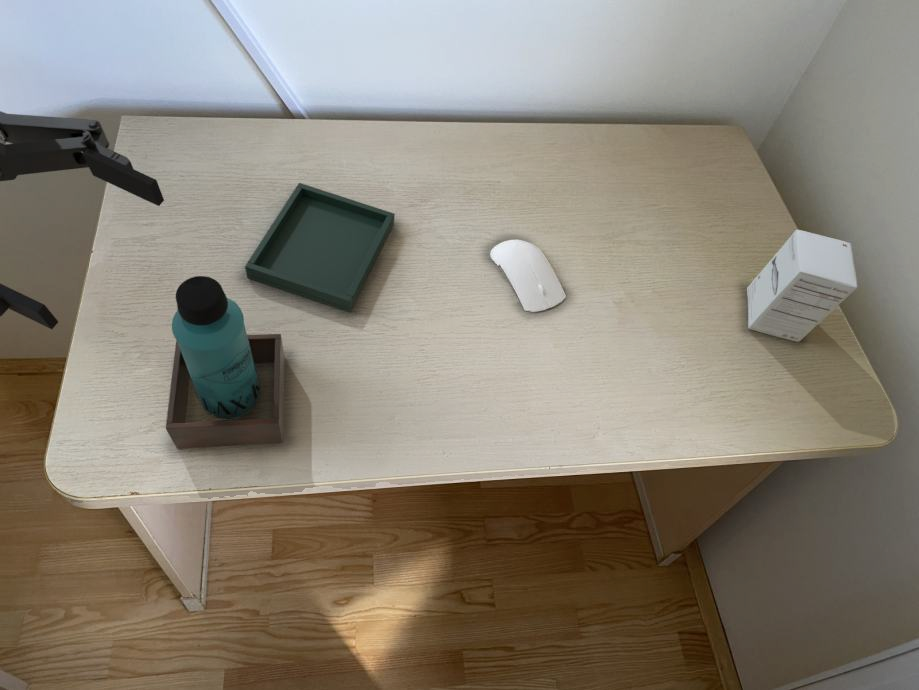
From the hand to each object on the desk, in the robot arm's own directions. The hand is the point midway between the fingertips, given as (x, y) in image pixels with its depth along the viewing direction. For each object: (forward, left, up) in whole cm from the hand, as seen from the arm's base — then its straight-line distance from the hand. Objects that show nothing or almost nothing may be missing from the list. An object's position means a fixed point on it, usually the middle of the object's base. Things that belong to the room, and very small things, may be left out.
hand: (106, 251), depth 53 cm
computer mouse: (+43, -14, -24) cm, 51 cm away
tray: (+25, +6, -23) cm, 35 cm away
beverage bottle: (+4, -5, -24) cm, 25 cm away
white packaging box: (+65, -40, -24) cm, 80 cm away
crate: (+4, -5, -23) cm, 24 cm away
